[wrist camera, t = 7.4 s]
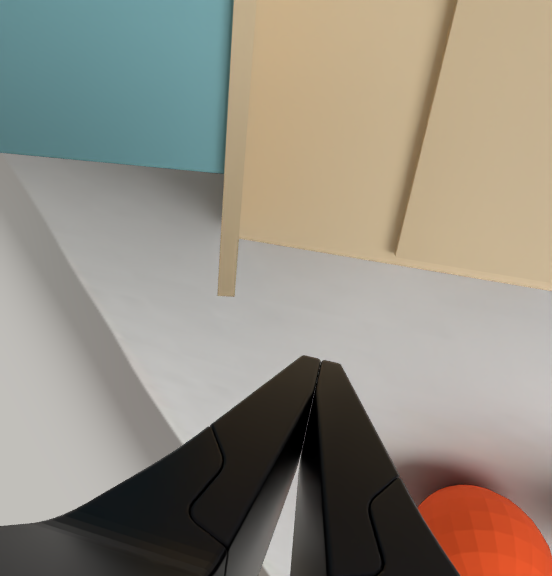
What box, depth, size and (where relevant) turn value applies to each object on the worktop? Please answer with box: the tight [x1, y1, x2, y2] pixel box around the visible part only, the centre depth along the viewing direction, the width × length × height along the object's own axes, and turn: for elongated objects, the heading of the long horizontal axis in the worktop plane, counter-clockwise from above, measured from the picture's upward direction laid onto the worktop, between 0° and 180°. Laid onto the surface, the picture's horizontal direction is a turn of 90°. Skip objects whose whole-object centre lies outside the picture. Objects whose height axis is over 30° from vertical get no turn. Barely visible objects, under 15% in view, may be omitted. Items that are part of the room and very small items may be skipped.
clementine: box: [418, 485, 552, 576], centre depth 21 cm, size 8×7×7 cm
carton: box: [239, 0, 552, 291], centre depth 16 cm, size 14×13×2 cm
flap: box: [0, 0, 257, 297], centre depth 13 cm, size 7×12×7 cm
